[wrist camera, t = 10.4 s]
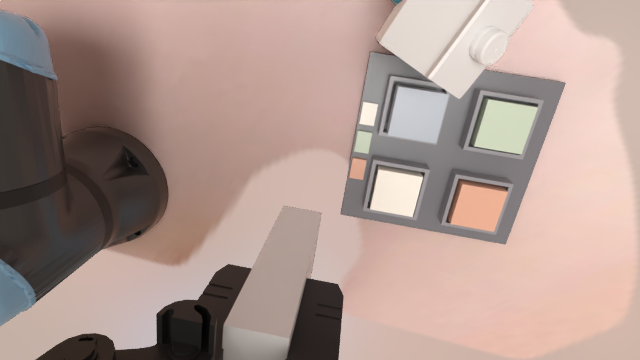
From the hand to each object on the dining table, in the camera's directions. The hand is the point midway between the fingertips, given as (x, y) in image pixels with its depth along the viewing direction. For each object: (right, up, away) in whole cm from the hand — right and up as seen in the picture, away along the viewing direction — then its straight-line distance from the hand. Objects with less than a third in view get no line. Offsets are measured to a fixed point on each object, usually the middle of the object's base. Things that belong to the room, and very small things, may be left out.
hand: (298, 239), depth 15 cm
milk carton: (+12, +18, +24) cm, 32 cm away
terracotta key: (+18, 0, +28) cm, 33 cm away
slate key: (+11, +9, +24) cm, 27 cm away
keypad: (+15, +6, +28) cm, 32 cm away
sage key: (+20, +8, +25) cm, 32 cm away
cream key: (+9, +2, +28) cm, 30 cm away
